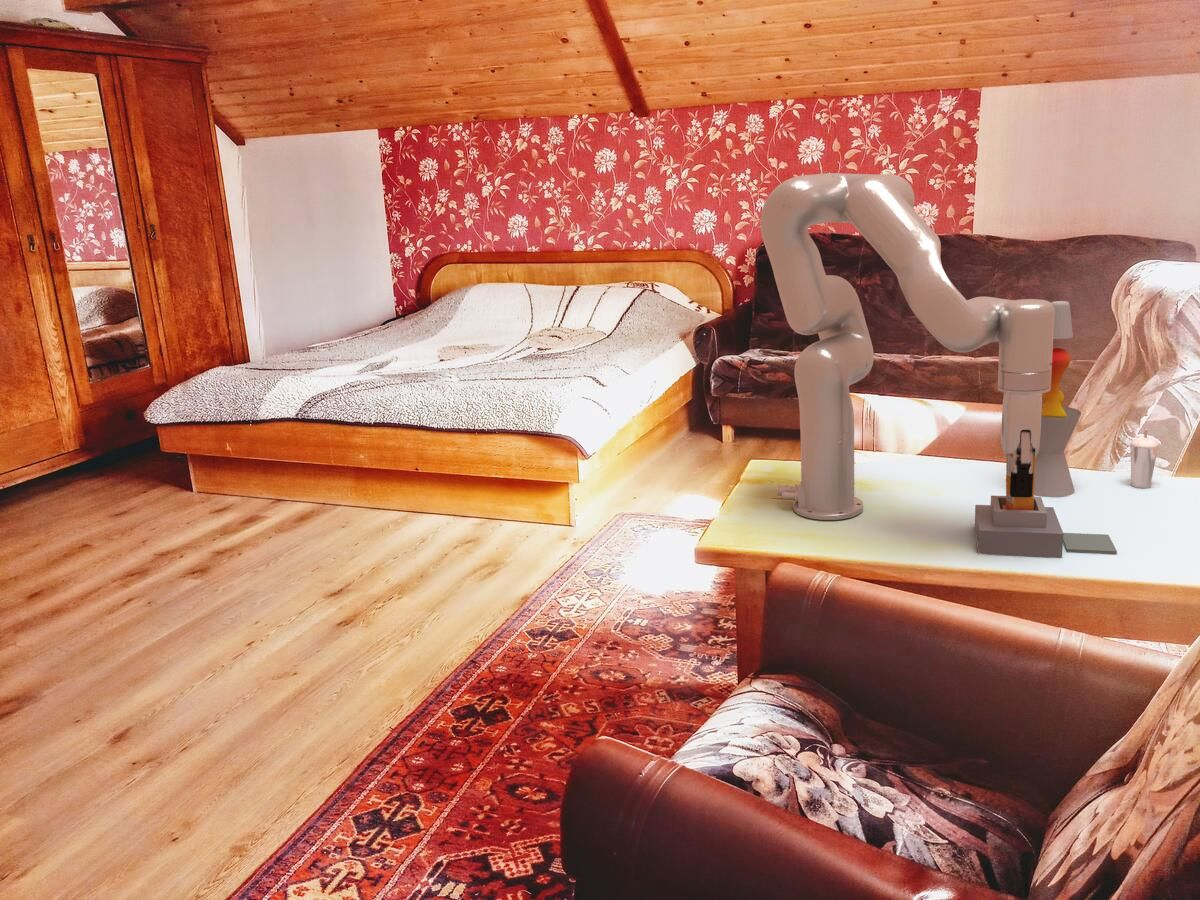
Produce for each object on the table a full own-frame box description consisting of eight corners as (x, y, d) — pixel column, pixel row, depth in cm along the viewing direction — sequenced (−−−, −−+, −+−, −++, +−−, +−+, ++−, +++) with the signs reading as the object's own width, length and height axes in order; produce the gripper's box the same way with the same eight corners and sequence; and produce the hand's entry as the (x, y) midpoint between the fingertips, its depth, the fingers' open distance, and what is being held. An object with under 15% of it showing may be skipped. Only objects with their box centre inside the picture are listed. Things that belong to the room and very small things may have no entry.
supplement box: (1024, 505, 152) (1026, 446, 149) (1034, 512, 148) (1037, 452, 146) (1003, 507, 152) (1006, 448, 149) (1013, 514, 148) (1016, 454, 146)
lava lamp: (1079, 498, 168) (1093, 304, 158) (1024, 496, 171) (1035, 306, 161) (1071, 482, 176) (1084, 297, 167) (1019, 481, 179) (1029, 299, 169)
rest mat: (1066, 551, 146) (1066, 549, 146) (1060, 535, 153) (1060, 532, 152) (1116, 554, 144) (1116, 551, 144) (1108, 537, 150) (1108, 534, 150)
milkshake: (1155, 481, 173) (1160, 430, 170) (1154, 490, 169) (1159, 437, 166) (1127, 479, 175) (1132, 428, 173) (1125, 488, 171) (1130, 435, 168)
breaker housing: (978, 553, 148) (980, 515, 146) (974, 526, 159) (975, 490, 157) (1061, 557, 144) (1064, 518, 143) (1051, 529, 155) (1054, 493, 153)
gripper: (994, 369, 153) (990, 475, 158) (1002, 392, 138) (998, 508, 143) (1044, 368, 151) (1038, 476, 156) (1058, 392, 135) (1051, 510, 140)
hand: (1019, 490), depth 149 cm, fingers closed on supplement box, 3 cm apart
